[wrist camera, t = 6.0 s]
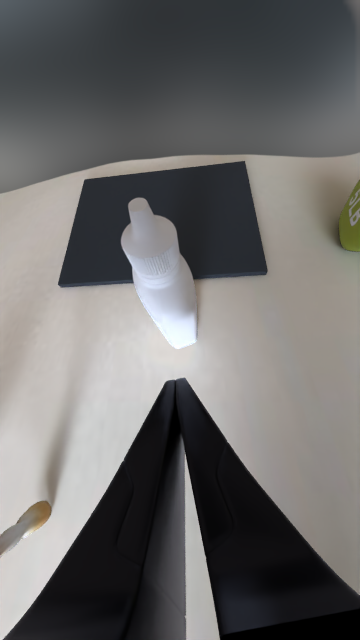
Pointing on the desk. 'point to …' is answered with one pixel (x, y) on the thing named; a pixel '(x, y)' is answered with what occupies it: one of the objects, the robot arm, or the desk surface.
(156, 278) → the eye dropper bottle
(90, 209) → the mat
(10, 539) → the horse figurine
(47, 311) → the desk surface
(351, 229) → the dumbbell
